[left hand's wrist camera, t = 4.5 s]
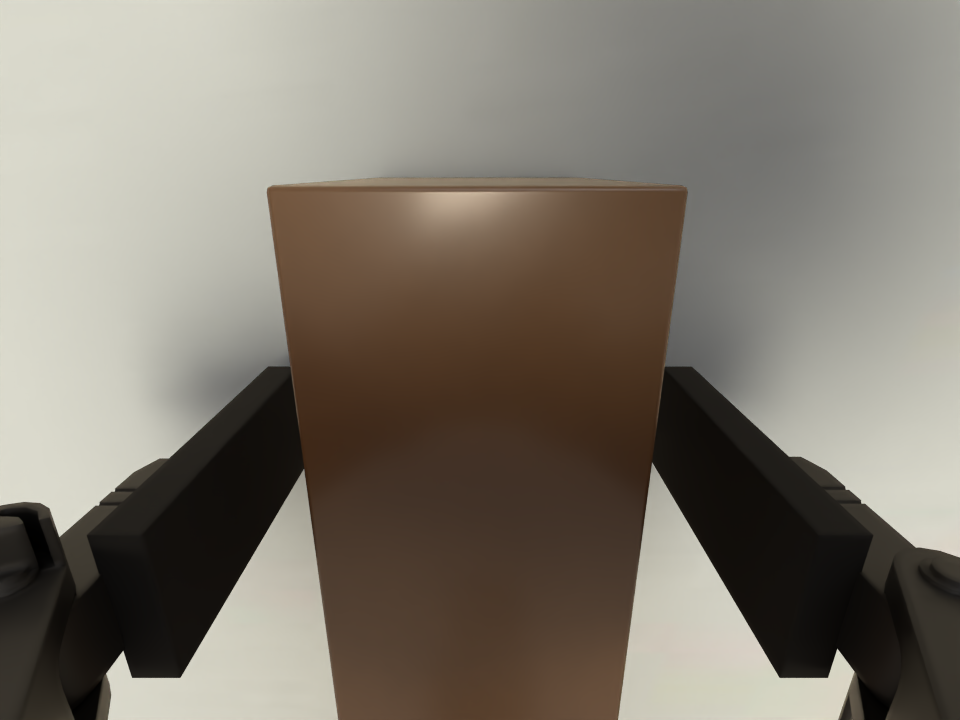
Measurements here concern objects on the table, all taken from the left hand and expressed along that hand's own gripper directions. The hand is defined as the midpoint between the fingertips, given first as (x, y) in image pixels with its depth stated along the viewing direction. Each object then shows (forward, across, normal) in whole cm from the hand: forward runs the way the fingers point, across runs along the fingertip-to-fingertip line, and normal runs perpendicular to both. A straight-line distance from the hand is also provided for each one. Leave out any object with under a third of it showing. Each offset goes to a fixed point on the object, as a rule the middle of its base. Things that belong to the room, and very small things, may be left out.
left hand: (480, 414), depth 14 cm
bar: (+1, 0, -21) cm, 21 cm away
